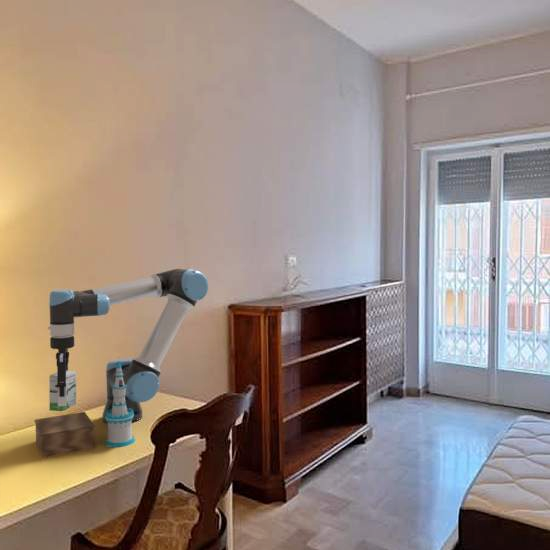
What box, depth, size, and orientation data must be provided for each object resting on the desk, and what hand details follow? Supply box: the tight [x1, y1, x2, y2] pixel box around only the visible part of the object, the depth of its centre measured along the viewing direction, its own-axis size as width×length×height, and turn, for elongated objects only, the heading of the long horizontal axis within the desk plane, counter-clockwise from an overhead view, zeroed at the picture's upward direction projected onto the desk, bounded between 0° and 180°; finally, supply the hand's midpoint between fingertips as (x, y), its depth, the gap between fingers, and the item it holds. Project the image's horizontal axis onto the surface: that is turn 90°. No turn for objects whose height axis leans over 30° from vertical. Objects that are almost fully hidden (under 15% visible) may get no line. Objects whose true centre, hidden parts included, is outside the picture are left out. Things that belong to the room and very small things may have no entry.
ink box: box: [48, 370, 77, 412], centre depth 175 cm, size 9×5×12 cm, turn 168°
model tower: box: [104, 356, 136, 448], centre depth 178 cm, size 10×10×30 cm
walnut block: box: [34, 411, 96, 459], centre depth 176 cm, size 17×17×8 cm
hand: (63, 401), depth 175 cm, fingers closed on ink box, 9 cm apart
